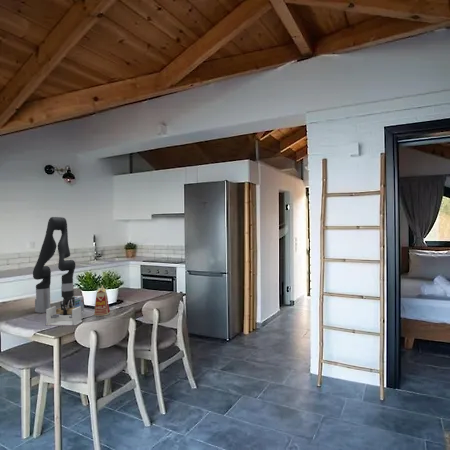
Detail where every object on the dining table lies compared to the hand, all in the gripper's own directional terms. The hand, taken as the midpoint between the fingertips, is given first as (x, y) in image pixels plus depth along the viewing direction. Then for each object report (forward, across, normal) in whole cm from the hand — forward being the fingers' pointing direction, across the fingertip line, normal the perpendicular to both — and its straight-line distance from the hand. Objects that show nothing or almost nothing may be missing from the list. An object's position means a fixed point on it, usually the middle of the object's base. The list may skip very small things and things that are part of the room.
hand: (68, 314), depth 238 cm
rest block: (+3, 0, 0) cm, 3 cm away
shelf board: (-1, 0, 0) cm, 1 cm away
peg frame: (+3, +10, +3) cm, 11 cm away
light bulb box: (+3, -19, -5) cm, 20 cm away
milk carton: (+3, -13, +18) cm, 22 cm away
